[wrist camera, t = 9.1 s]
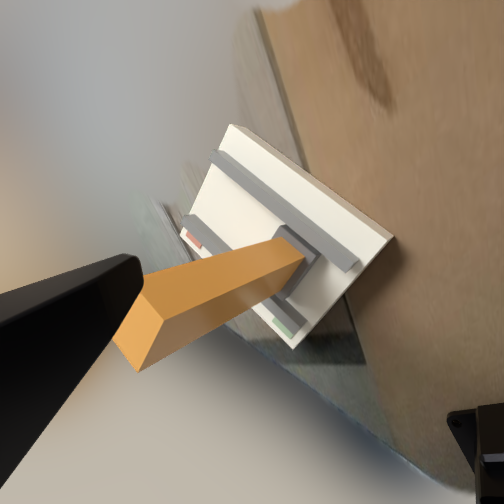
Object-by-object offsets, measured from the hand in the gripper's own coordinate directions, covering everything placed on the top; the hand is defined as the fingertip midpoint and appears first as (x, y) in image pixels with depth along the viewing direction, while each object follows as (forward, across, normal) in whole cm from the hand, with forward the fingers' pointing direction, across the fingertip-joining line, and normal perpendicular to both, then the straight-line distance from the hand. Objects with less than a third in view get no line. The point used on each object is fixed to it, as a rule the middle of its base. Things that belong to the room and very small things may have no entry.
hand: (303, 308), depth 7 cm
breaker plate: (+14, +4, +7) cm, 16 cm away
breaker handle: (+11, +2, +7) cm, 14 cm away
